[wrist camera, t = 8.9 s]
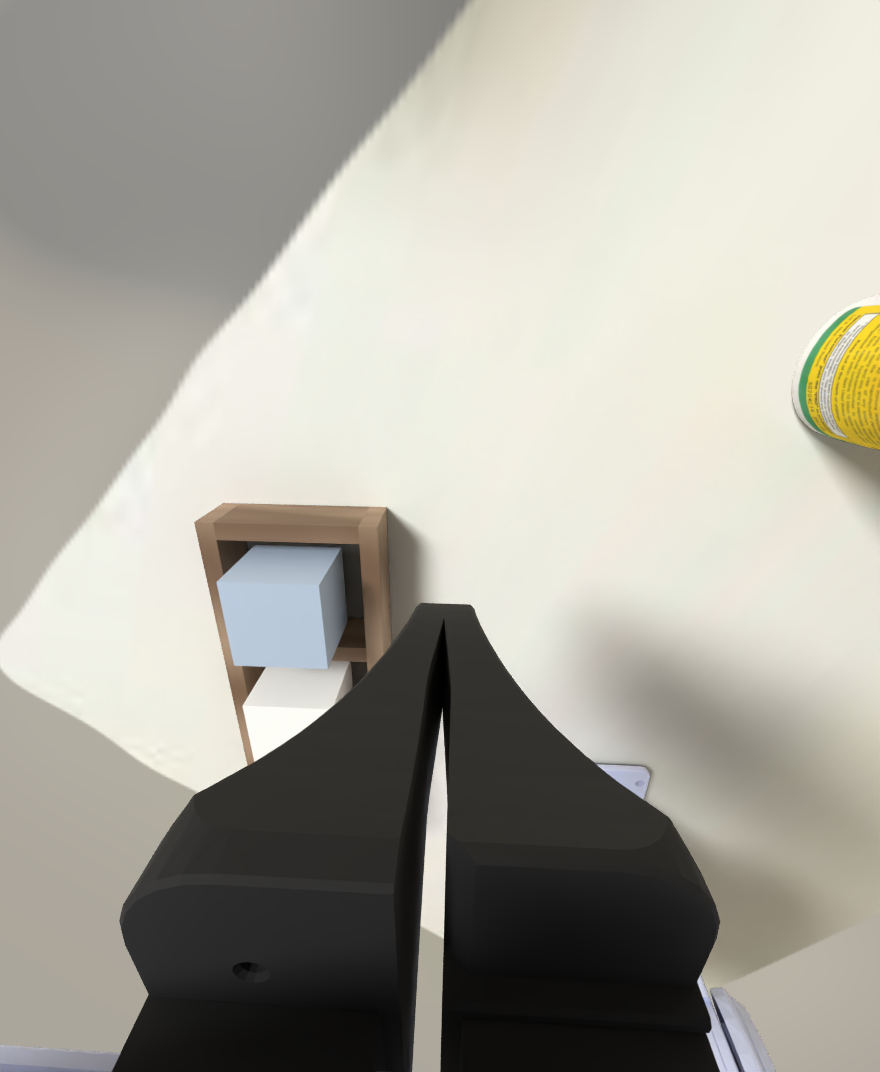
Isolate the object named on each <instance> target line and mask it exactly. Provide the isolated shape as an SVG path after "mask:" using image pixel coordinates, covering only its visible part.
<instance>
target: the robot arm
mask: <svg viewBox="0 0 880 1072" xmlns="http://www.w3.org/2000/svg"><path fill="white" fill-rule="evenodd" d="M442 708H443V727H444V745H445V762H446V780H447V802H448V809H447V842H446V881H445V920H444V957H443V993H442V994H443V995H442V1031H441V1032H442V1033H441V1072H776V1070H775V1068H774V1066H773V1063H772V1061H771V1059H770V1057H769V1054H768V1052H767V1050H766V1048H765V1046H764V1044H763V1041H762V1039H761V1037H760V1035H759V1033H758V1031H757V1029H756V1027H755V1025H754V1023H753V1021H752V1019H751V1017H750V1015H749V1013H748V1012H747V1010H746V1008H745V1007H744V1006H743V1005H742V1004H740V1003H739V1002H738V1001H736V1000H735V999H734V998H733V997H730V995H729V994H728V992H727V991H726V990H725V989H724V988H721V987H719V988H712V989H710V993H711V996H712V999H713V1002H714V1006H715V1009H716V1012H717V1015H718V1017H719V1020H718V1017H717V1015H716V1012H715V1010H714V1008H713V1005H712V1003H711V1000H710V997H709V995H708V992H707V989H706V987H705V984H704V982H703V979H702V976H701V972H702V970H703V968H704V965H705V963H706V961H707V959H708V957H709V954H710V952H711V950H712V948H713V945H714V943H715V941H716V938H717V934H718V929H719V924H720V920H719V916H718V912H717V909H716V905H715V903H714V900H713V898H712V896H711V894H710V892H709V889H708V887H707V885H706V883H705V881H704V878H703V876H702V874H701V872H700V870H699V868H698V867H697V865H696V863H695V861H694V859H693V858H692V856H691V854H690V852H689V850H688V849H687V847H686V845H685V844H684V842H683V840H682V839H681V837H680V835H679V833H678V832H677V830H676V828H675V827H674V825H673V823H672V822H671V820H670V818H669V817H667V816H666V815H664V814H663V813H662V812H660V811H659V810H657V809H656V808H654V807H653V806H652V805H650V804H649V803H647V802H646V801H645V800H644V797H645V794H646V790H647V786H648V783H649V779H650V774H649V772H648V770H647V768H645V767H642V766H625V765H603V764H595V763H594V762H593V761H591V760H590V759H589V758H588V757H586V756H585V755H584V754H583V753H582V752H581V751H580V750H579V749H578V748H576V747H575V746H574V745H573V744H572V743H571V742H570V741H569V740H568V739H567V738H566V737H565V736H564V735H562V734H561V733H560V732H559V731H558V730H557V729H556V728H555V727H554V726H553V725H552V724H551V723H550V722H549V721H548V720H547V719H546V717H545V716H544V715H543V714H542V713H541V712H540V711H539V710H538V709H537V708H536V706H535V705H534V704H533V703H532V702H531V701H530V700H529V698H528V697H527V696H526V695H525V693H524V692H523V691H522V690H521V688H520V687H519V686H518V685H517V683H516V682H515V681H514V679H513V678H512V676H511V675H510V674H509V672H508V671H507V669H506V668H505V666H504V665H503V663H502V662H501V660H500V659H499V657H498V656H497V654H496V652H495V651H494V649H493V647H492V646H491V644H490V642H489V641H488V639H487V637H486V635H485V633H484V631H483V629H482V627H481V625H480V623H479V621H478V618H477V616H476V613H475V610H474V608H473V607H472V606H471V605H465V604H434V603H420V604H419V605H418V606H417V607H416V608H415V610H414V612H413V614H412V616H411V617H410V619H409V621H408V622H407V624H406V625H405V627H404V628H403V630H402V631H401V632H400V634H399V635H398V636H397V638H396V639H395V640H394V642H393V643H392V644H391V646H390V647H389V648H388V650H387V651H386V652H385V653H384V655H383V656H382V657H381V658H380V659H379V660H378V661H377V663H376V664H375V665H374V666H373V667H372V668H371V669H370V670H369V672H368V673H367V674H366V675H365V676H364V677H363V678H362V679H361V680H360V681H359V682H358V683H357V684H356V685H355V686H354V687H353V688H352V689H351V690H350V691H349V692H348V693H347V694H346V695H345V696H344V697H342V698H341V699H340V700H339V701H338V702H337V703H336V704H335V705H333V706H332V707H331V708H330V709H329V710H327V711H326V712H325V713H324V714H323V715H321V716H320V717H319V718H318V719H317V720H315V721H314V722H313V723H311V724H310V725H309V726H308V727H306V728H305V729H304V730H302V731H301V732H299V733H298V734H297V735H295V736H294V737H292V738H291V739H289V740H288V741H286V742H285V743H283V744H282V745H280V746H279V747H277V748H276V749H274V750H273V751H271V752H269V753H268V754H266V755H265V756H263V757H262V758H260V759H258V760H257V761H255V762H253V763H252V764H250V765H248V766H246V767H245V768H243V769H241V770H239V771H237V772H236V773H234V774H232V775H230V776H228V777H227V778H225V779H223V780H221V781H219V782H218V783H216V784H214V785H212V786H210V787H209V788H207V789H205V790H203V791H201V792H199V793H197V794H195V795H194V796H193V797H192V799H191V800H190V802H189V803H188V805H187V806H186V807H185V809H184V810H183V811H182V813H181V814H180V815H179V817H178V818H177V819H176V821H175V822H174V823H173V825H172V826H171V828H170V829H169V831H168V832H167V834H166V835H165V837H164V839H163V840H162V841H161V843H160V845H159V846H158V848H157V850H156V851H155V853H154V855H153V856H152V858H151V860H150V861H149V863H148V865H147V867H146V868H145V870H144V871H143V873H142V875H141V876H140V878H139V880H138V881H137V883H136V884H135V886H134V888H133V889H132V891H131V893H130V894H129V896H128V898H127V899H126V901H125V903H124V904H123V908H122V912H121V916H120V925H121V930H122V934H123V938H124V942H125V945H126V947H127V949H128V951H129V954H130V956H131V958H132V960H133V962H134V964H135V966H136V968H137V971H138V972H139V975H140V977H141V979H142V981H143V983H144V985H145V987H146V989H147V991H148V994H149V995H148V997H147V999H146V1001H145V1004H144V1006H143V1008H142V1010H141V1012H140V1014H139V1016H138V1018H137V1020H136V1022H135V1024H134V1027H133V1028H132V1031H131V1033H130V1035H129V1037H128V1039H127V1041H126V1043H125V1045H124V1047H123V1049H122V1051H121V1053H113V1052H99V1051H98V1052H97V1051H84V1050H69V1049H56V1048H42V1047H28V1046H14V1045H0V1072H412V1061H413V1044H414V1026H415V1008H416V1007H415V1006H416V990H417V973H418V955H419V939H420V922H421V905H422V889H423V872H424V856H425V840H426V824H427V812H428V803H429V794H430V788H431V781H432V774H433V768H434V761H435V755H436V748H437V741H438V735H439V728H440V721H441V715H442ZM719 1021H720V1022H719ZM720 1023H721V1025H720Z"/></svg>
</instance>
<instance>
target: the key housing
mask: <svg viewBox="0 0 880 1072" xmlns="http://www.w3.org/2000/svg"><path fill="white" fill-rule="evenodd" d="M194 523H195V528H196V532H197V537H198V541H199V546H200V550H201V555H202V559H203V564H204V569H205V573H206V578H207V582H208V587H209V591H210V596H211V600H212V605H213V609H214V614H215V619H216V623H217V628H218V632H219V637H220V641H221V646H222V650H223V655H224V660H225V664H226V669H227V673H228V678H229V682H230V687H231V691H232V696H233V701H234V705H235V710H236V714H237V719H238V723H239V728H240V732H241V737H242V742H243V746H244V751H245V755H246V760H247V764H248V765H250V764H252V763H253V762H254V758H253V753H252V749H251V744H250V739H249V734H248V730H247V725H246V720H245V715H244V711H243V704H244V702H245V701H246V699H247V698H248V696H249V694H250V693H251V691H252V689H253V688H254V686H255V684H256V683H257V681H258V680H259V678H260V676H261V675H262V673H263V671H264V670H265V668H266V667H258V666H234V663H233V658H232V654H231V649H230V644H229V639H228V635H227V630H226V625H225V620H224V616H223V611H222V606H221V601H220V597H219V592H218V587H217V581H218V580H219V579H220V578H221V577H222V576H223V575H224V574H225V573H226V572H227V571H229V570H230V569H231V568H232V567H233V566H234V565H235V564H236V563H237V562H238V561H239V560H240V559H241V558H242V557H243V556H244V555H245V554H246V553H247V552H248V548H247V542H246V541H265V542H300V543H335V544H359V547H360V562H361V577H362V593H363V608H364V618H347V621H348V622H347V624H346V627H345V629H344V632H343V634H342V636H341V639H340V641H339V644H338V646H337V649H336V651H335V653H334V656H333V658H332V661H351V662H367V670H368V672H369V670H370V669H371V668H372V667H373V666H374V665H375V664H376V663H377V661H378V660H379V659H380V658H381V657H382V656H383V655H384V653H385V652H386V651H387V650H388V648H389V647H390V646H391V644H392V641H391V615H390V588H389V562H388V535H387V509H386V507H350V506H311V505H272V504H233V503H223V504H221V505H220V506H218V507H217V508H215V509H214V510H212V511H211V512H209V513H208V514H206V515H205V516H203V517H202V518H200V519H199V520H197V521H196V522H194Z"/></svg>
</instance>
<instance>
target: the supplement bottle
mask: <svg viewBox="0 0 880 1072" xmlns="http://www.w3.org/2000/svg"><path fill="white" fill-rule="evenodd" d="M792 398H793V403H794V407H795V409H796V412H797V414H798V416H799V417H800V418H801V420H802V421H803V422H804V423H805V424H806V425H807V426H808V427H810V428H811V429H813V430H814V431H816V432H818V433H820V434H822V435H825V436H828V437H831V438H835V439H838V440H841V441H845V442H849V443H853V444H857V445H861V446H865V447H868V448H872V449H876V450H880V294H879V295H875V296H871V297H869V298H866V299H863V300H861V301H858V302H856V303H854V304H852V305H850V306H848V307H847V308H845V309H844V310H842V311H840V312H839V313H838V314H836V315H835V316H833V317H832V318H831V319H829V320H828V321H827V323H826V324H825V325H824V326H823V327H822V328H821V329H820V330H819V331H818V332H817V333H816V335H815V336H814V337H813V338H812V340H811V341H810V342H809V344H808V345H807V346H806V348H805V349H804V351H803V353H802V355H801V356H800V358H799V360H798V363H797V365H796V368H795V370H794V375H793V380H792Z"/></svg>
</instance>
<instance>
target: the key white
mask: <svg viewBox="0 0 880 1072" xmlns="http://www.w3.org/2000/svg"><path fill="white" fill-rule="evenodd" d="M352 688H353V681H352V669H351V661H331V663H330V665H329V668H328V669H310V668H284V667H266V668H265V670H264V671H263V673H262V675H261V676H260V678H259V680H258V681H257V683H256V684H255V686H254V688H253V689H252V691H251V693H250V694H249V696H248V698H247V699H246V701H245V702H244V704H243V711H244V715H245V720H246V725H247V730H248V734H249V739H250V744H251V749H252V753H253V758H254V762H255V761H257V760H258V759H260V758H262V757H263V756H265V755H266V754H268V753H269V752H271V751H273V750H274V749H276V748H277V747H279V746H280V745H282V744H283V743H285V742H286V741H288V740H289V739H291V738H292V737H294V736H295V735H297V734H298V733H299V732H301V731H302V730H304V729H305V728H306V727H308V726H309V725H310V724H311V723H313V722H314V721H315V720H317V719H318V718H319V717H320V716H321V715H323V714H324V713H325V712H326V711H327V710H329V709H330V708H331V707H332V706H333V705H335V704H336V703H337V702H338V701H339V700H340V699H341V698H342V697H344V696H345V695H346V694H347V693H348V692H349V691H350V690H351V689H352Z"/></svg>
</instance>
